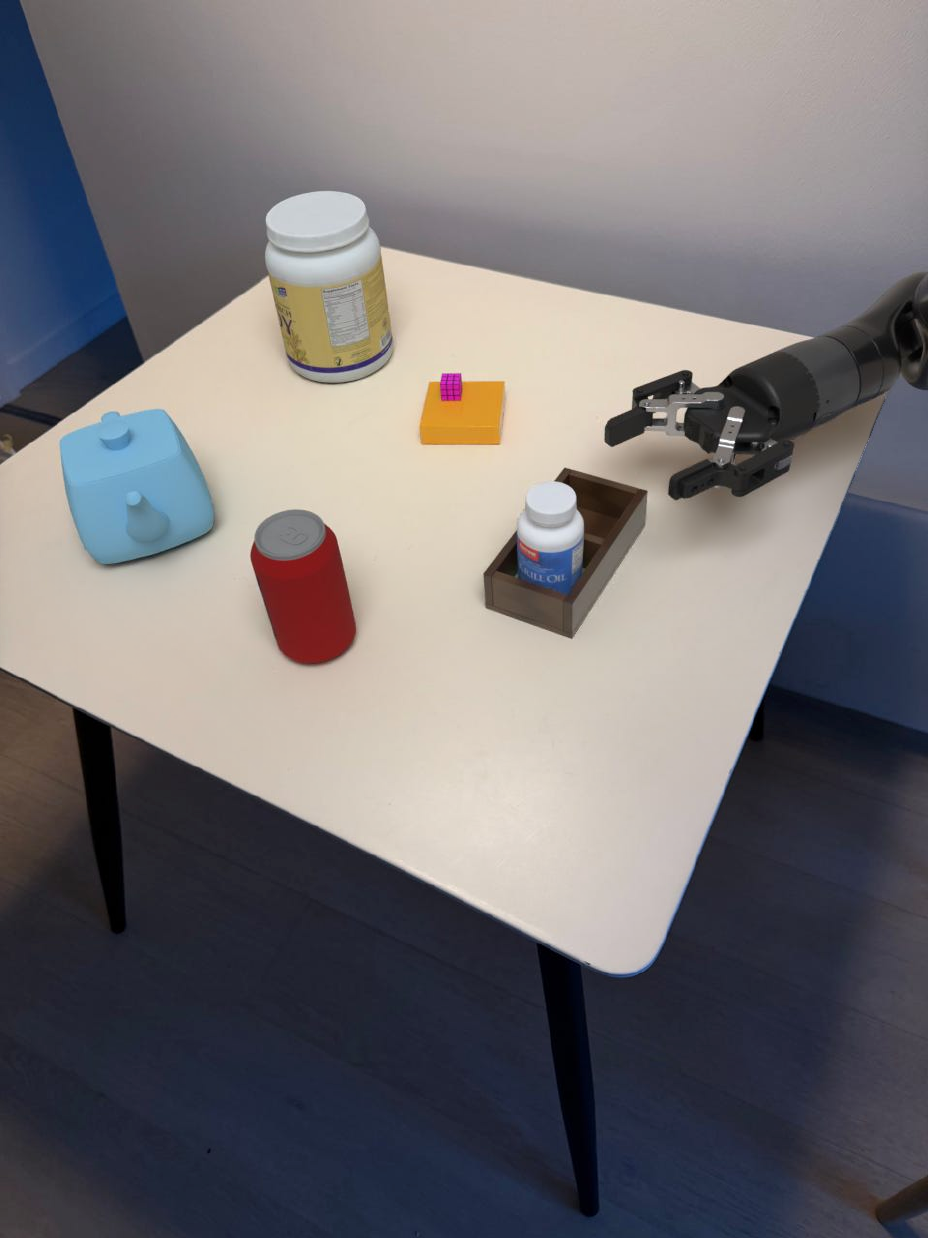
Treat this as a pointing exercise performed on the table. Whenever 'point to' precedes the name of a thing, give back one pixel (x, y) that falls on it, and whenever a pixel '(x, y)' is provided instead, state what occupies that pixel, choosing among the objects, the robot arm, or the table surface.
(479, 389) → the flat orange square base
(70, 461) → the teapot
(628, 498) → the wooden compartment box
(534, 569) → the pill bottle
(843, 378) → the robot arm
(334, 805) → the table surface
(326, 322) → the supplement tub
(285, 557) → the beverage can
